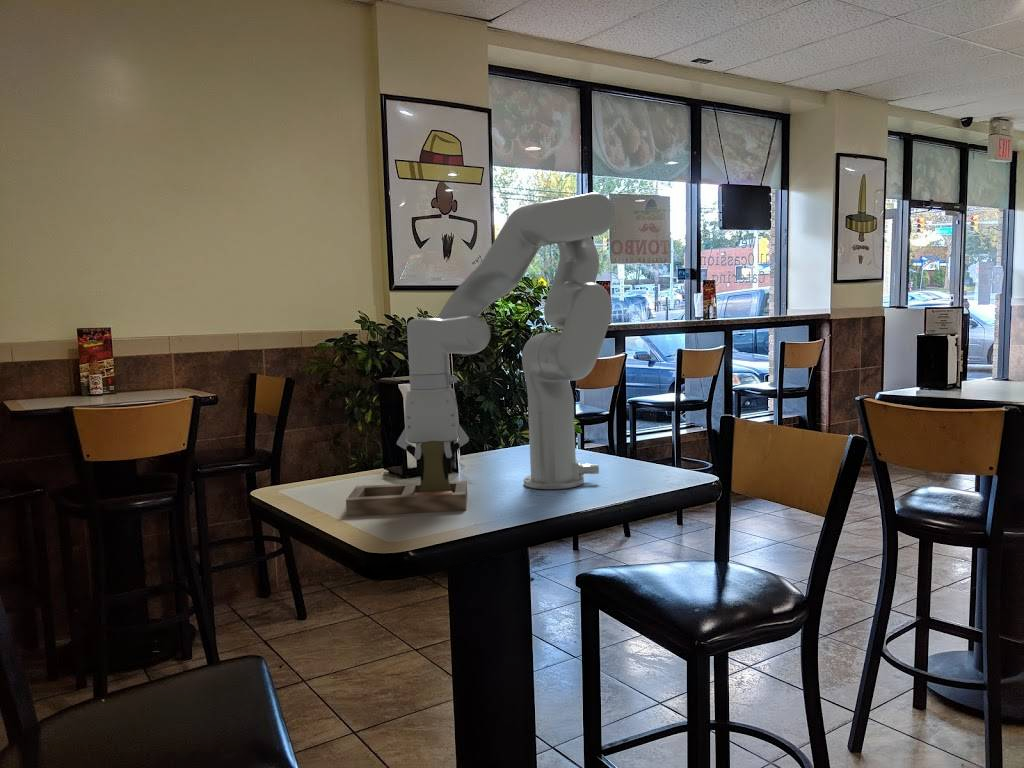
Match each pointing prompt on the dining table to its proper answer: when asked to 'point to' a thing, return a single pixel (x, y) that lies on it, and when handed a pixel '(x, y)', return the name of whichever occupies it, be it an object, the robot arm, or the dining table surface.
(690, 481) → the dining table surface
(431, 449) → the olive tall rounded piece
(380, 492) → the caddy
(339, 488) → the dining table surface
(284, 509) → the dining table surface
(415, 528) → the dining table surface
